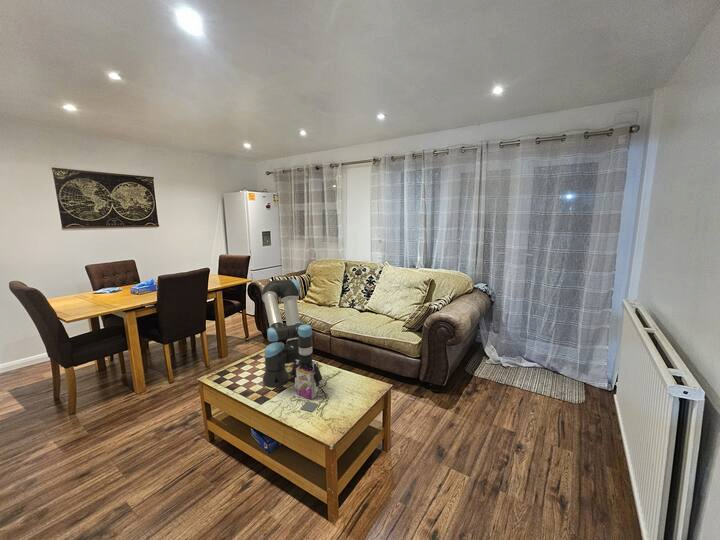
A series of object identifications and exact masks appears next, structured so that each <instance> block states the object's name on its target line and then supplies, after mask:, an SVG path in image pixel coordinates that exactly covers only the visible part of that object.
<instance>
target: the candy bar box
mask: <svg viewBox="0 0 720 540" xmlns="http://www.w3.org/2000/svg"><path fill="white" fill-rule="evenodd" d="M299 367H300V365H299V366H297V368H296V371H295V373H296V384H297V389H296V395H298V396H301V397H303V398H305V399H308V400H311V401H312V400H314V399H315V398H316V397H318V391H317V392H316V393H314V381H315V380H314V375H315V374H316V373H315V370H314V368H313V370H312V371H308V370H306V369H302V368H301V369H299ZM310 369H311V368H310Z"/></svg>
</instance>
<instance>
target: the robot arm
mask: <svg viewBox="0 0 720 540" xmlns="http://www.w3.org/2000/svg"><path fill="white" fill-rule="evenodd" d="M299 296H301V288H300V284H299V282H298V280H297V279H295V278H293V279H292V278H289V279H277V280H271V281H269V282H267V283H266V284H265V285H264V287H263V289H262V291H261V300H262V302H263V303H264V306H265V307H264V308H265V310H266V316H267V321H268V324H269V327H268V328H267V331H266V332H267V333H266V334H267V340H268V341H269V342H271V343H270V344H268V345H267V346H266V347H265V349H264V365H265V366H264V367H265V368H264V369H265V370H264V374H263V377H262V384H263V385H264V387H267V388H278V387H282V386H284V385H285V384H287V383H288V382H289V375H288V372H287V369H286V365H287V364H292V363H293V367H292V369H291V372H290V376H292V377H293V382H294V387H295V390H297V384H296V368H297V367H299V366H300V367H299V369H301V368H302V369H306V370H308V371H312V370H313V369H314V370H315V373H316V374H315V375H314V380H315V381H314V393H316V392H317V393H318V391H319V386H320V382H321V381H322V380H323V376H322V374H321V371H320V368H319V364H318V362H313V359H314V358H313V330H312V326H311V325H309V324H305V323H303V322H302V321H300V315H299V307H298V302H297V301H298V299H299V298H300V297H299ZM279 298H280V301H281V302H282V303H283V309H284V316H285V321H286V322H285V323H286V325H284V322H283V318H282V315H281V314H282V313H281V312H280V307H279V306H280V305H279V303H278V299H279ZM284 340H286V344H285V343H284V342H282V341H284ZM298 364H299V366H298ZM310 368H311V369H310Z"/></svg>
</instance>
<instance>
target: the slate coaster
mask: <svg viewBox="0 0 720 540" xmlns="http://www.w3.org/2000/svg"><path fill="white" fill-rule="evenodd" d="M318 406H319V403H316V402H312V401H308V400H306V402H305V403H303V405H302V406H301V407H300V410H302V411H305V412H309V413H313V412H314V411H315V409H316V408H318Z"/></svg>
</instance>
